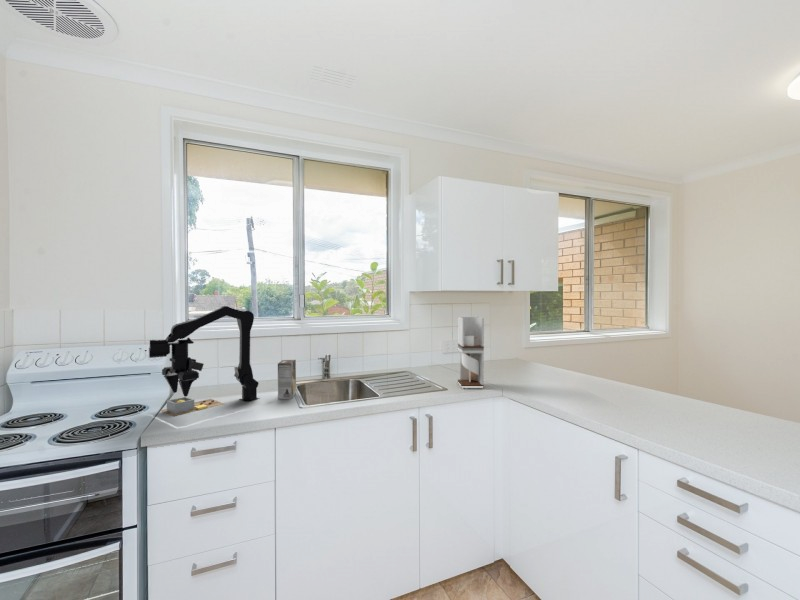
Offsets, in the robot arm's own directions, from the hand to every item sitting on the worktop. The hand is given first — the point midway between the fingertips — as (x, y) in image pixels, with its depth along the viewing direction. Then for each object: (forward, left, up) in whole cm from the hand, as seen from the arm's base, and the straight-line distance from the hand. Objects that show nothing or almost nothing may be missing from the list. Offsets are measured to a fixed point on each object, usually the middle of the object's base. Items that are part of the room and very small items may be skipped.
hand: (180, 394), depth 148 cm
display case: (-76, -106, -7) cm, 131 cm away
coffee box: (-16, -39, -7) cm, 43 cm away
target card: (-4, -6, -7) cm, 10 cm away
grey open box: (0, 0, -7) cm, 7 cm away
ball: (0, 0, -6) cm, 6 cm away
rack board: (0, -5, -7) cm, 9 cm away
